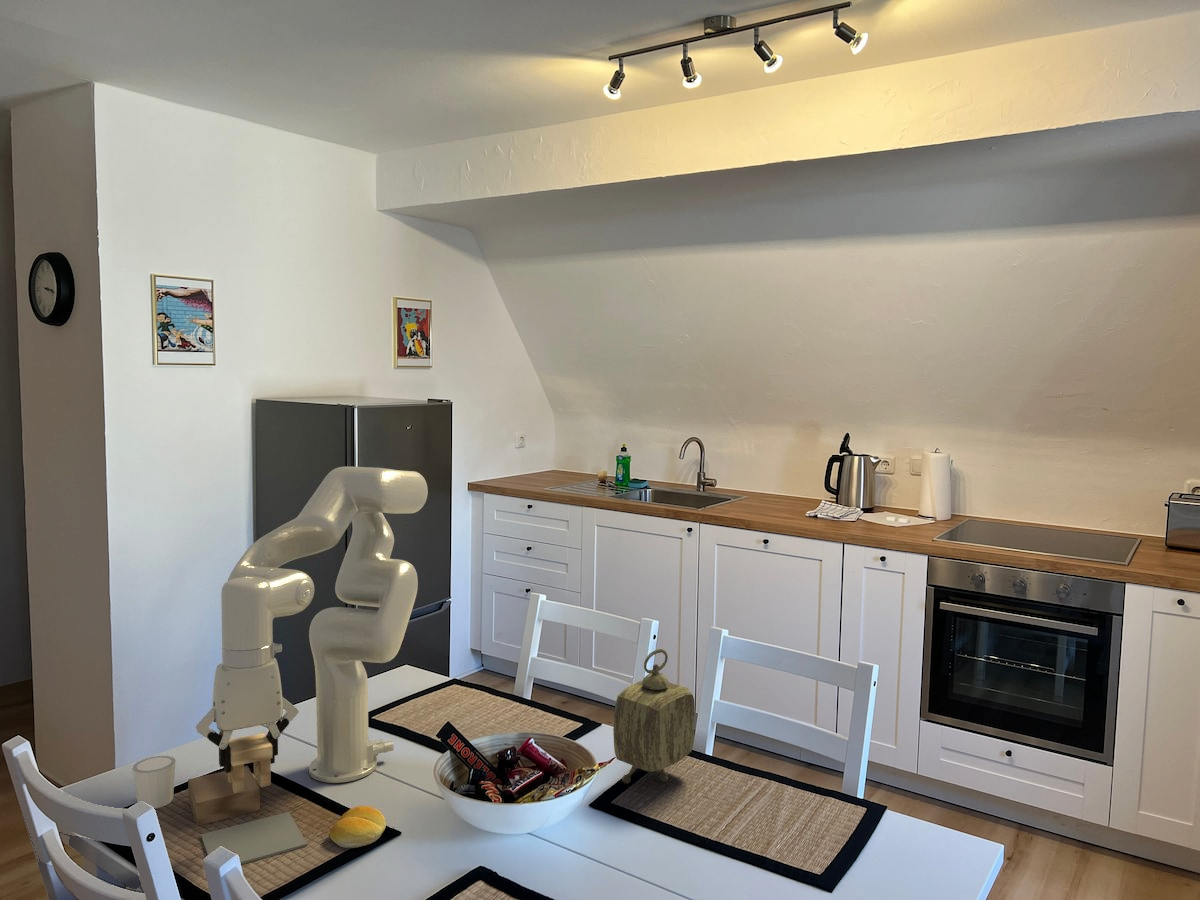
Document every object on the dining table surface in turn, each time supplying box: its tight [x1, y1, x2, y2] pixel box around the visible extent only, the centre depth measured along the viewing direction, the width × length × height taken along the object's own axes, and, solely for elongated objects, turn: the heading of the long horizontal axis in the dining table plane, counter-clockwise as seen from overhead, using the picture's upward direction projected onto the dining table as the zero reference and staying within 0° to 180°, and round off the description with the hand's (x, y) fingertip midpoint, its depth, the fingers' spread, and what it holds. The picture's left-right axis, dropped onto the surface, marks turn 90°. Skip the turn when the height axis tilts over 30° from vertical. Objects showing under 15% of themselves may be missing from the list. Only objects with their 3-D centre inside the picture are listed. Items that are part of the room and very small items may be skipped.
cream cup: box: [131, 755, 176, 809], centre depth 154 cm, size 7×7×7 cm
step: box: [187, 765, 261, 826], centre depth 152 cm, size 10×10×4 cm
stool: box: [228, 732, 273, 793], centre depth 139 cm, size 6×6×6 cm
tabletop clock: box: [612, 648, 696, 784], centre depth 163 cm, size 14×9×25 cm, turn 139°
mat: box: [200, 811, 308, 865], centre depth 141 cm, size 14×12×1 cm
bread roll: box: [329, 805, 387, 849], centre depth 143 cm, size 8×9×4 cm
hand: (248, 764), depth 139 cm, fingers closed on stool, 6 cm apart
